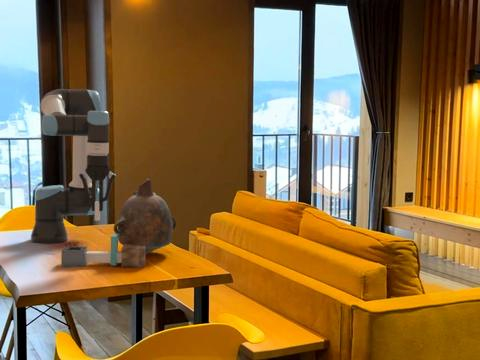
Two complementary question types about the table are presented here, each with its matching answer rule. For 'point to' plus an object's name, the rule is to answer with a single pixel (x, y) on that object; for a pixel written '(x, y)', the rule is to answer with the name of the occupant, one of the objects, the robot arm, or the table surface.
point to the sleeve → (73, 257)
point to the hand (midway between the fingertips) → (97, 219)
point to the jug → (145, 220)
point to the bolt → (106, 254)
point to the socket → (133, 255)
